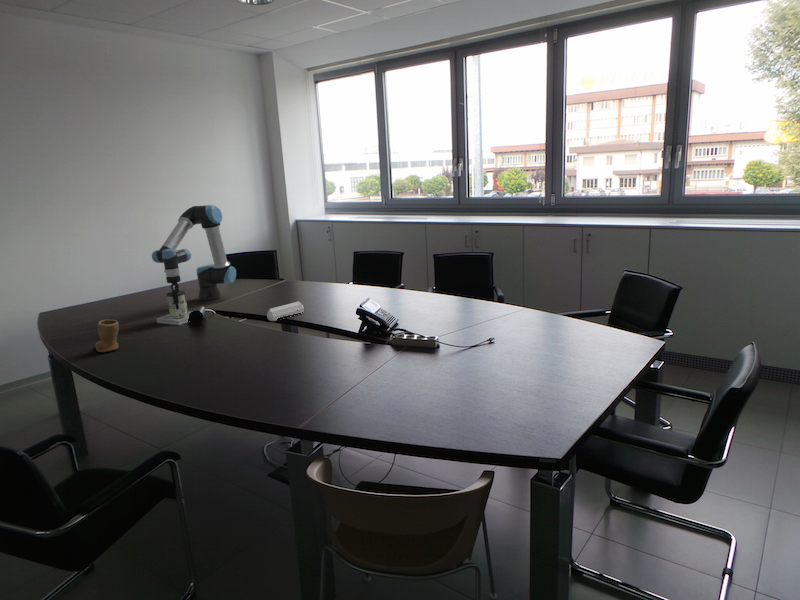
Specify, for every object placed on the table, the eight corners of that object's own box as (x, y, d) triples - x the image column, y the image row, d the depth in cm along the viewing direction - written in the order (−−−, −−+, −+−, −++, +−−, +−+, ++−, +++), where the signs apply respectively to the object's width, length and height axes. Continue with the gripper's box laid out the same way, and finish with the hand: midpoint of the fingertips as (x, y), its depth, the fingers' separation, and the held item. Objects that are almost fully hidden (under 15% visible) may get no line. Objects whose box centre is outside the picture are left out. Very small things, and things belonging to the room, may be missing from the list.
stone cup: (124, 350, 263) (118, 321, 259) (97, 355, 257) (90, 326, 253) (121, 342, 276) (116, 315, 272) (96, 347, 270) (90, 319, 266)
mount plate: (181, 314, 326) (180, 310, 325) (202, 316, 318) (202, 312, 317) (157, 322, 310) (156, 318, 309) (179, 325, 302) (178, 320, 302)
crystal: (272, 316, 294) (307, 307, 310) (265, 308, 297) (301, 299, 314) (270, 326, 298) (305, 316, 314) (263, 318, 302) (298, 309, 318)
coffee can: (175, 313, 319) (171, 291, 315) (191, 313, 318) (188, 290, 314) (166, 318, 309) (162, 295, 305) (183, 317, 308) (179, 294, 304)
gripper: (167, 273, 317) (173, 308, 322) (164, 279, 296) (171, 317, 301) (180, 271, 319) (186, 306, 324) (178, 278, 298) (184, 315, 304)
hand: (179, 312), depth 313 cm, fingers closed on coffee can, 10 cm apart
